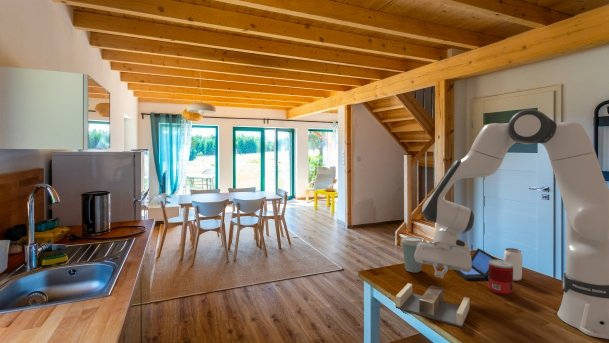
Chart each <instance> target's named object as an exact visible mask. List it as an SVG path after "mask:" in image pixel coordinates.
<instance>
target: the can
mask: <svg viewBox="0 0 609 343" xmlns="http://www.w3.org/2000/svg"><path fill="white" fill-rule="evenodd" d="M503 261H507V262H510V263H512V264H513V281H521V280H522V276H523V253H522V250H520V249H518V248H515V247H514V248H513V247H507V248H505V250H504V252H503Z"/></svg>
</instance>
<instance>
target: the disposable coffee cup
mask: <svg viewBox="0 0 609 343" xmlns="http://www.w3.org/2000/svg"><path fill="white" fill-rule="evenodd" d="M420 241H426V238H424V237H421V236H405V237H403V238H401V246H402V247H401V248H402V253H403V263H404V268H405V270H406V271H407V272H410V273H419V272H421V270H422V266H423V263H419V262H416V260H415V258H414V254H415V251H416V249H417V248H416V247H417V243H418V242H420Z"/></svg>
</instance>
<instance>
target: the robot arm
mask: <svg viewBox="0 0 609 343" xmlns="http://www.w3.org/2000/svg"><path fill="white" fill-rule="evenodd" d="M514 144H521V145H522V144H523V145H533V144H541V145H542V146H543V147H544V148H545V150H546V152H547V155H548V158H549V161H550V164H551V168H552V172H553V174H554V177H555V180H556V181H555V182H556V184H557V187H558V189H559V193H560V196H561V199H562V203H563V204H564V209H565V212H566V254H565V272H564V273H563V277H562V290H563V295H562V300H561V303H560V306H559V309H558V311H557V317H558V318H559V319H560V320H561V321H563V323H564V322H565V323H566V324H567V325H570V326H571V327H573V328H576V329H578V331H579V330H580V331H581V332H582V333H584V334H585V335H587V336H590V337H594V338H595V337H596V338H601V339H606V340H609V187H608V184H607V182H606V179H605V177H604V174H603V172H602V169H601V165H600V163H599V159H598V156H597V152H596V150H595V147H594V145H593V143H592V140H591V138H590V136H589V134H588V133H587V131H586V130H585V128H584V126H583V125H582V124H581V123H579V122H577V121H571V120H569V121H561V122H556V121H554V120H553V119H551V118H550V117H549V116H547V114H545V113H543V112H541V111H539V110H537V109H532V108H531V109H523V110H520V111H518V112H517V113H515V114H514V115H512V117H511V118H510V119H509V121H508V123H506V124H502V123H497V122H494V123H488V124H485V125H484V126H483V127H482V128H481V130H480V131H479V133H478V134H477V136H476V138H475V139H474V141H473V143H472V145H471V147H470V149H469V151H468V153H466V155H465V156H464V157H463V158H461V159H456V160H455V161H453V163H452V164H451V165H450V166H449V167H448V169H447V170H446V172H445V173H444V175H443V176H442V178H441V179H440V181H439V182H438V184H437V185H436V186H435V188H434V190H433V191H432V193H431V194H430V195H429V196H428V198H427V199H426V200H425V201H424V203H423V205H422V207H421V214H422V216H423V218H424V219H425V220H426V221H427V222H431V223H434V224H435V223H436V231H435V233H434V236H433V241H429V240H428V241H427V240H425V241H420V242H418V243H417V247H416V248H417V249H416V251H415V254H414V258H415V260H416V262H419V263H422V264H424V265H429V266H432V268H433V269H434V274H433V275H434V277H436V278H441V279H444V276H445V275H446V273H447V272H448V271H449V269H450V270H453V269H454V270H459V271H464V272H470V271H471V270H472V259H471V258H472V255H471V247H470V244H469V243H468V242H466V241H464V240H461V239H459V235H462V234H464V233H467V232H469V231H470V230H472V228H473V226H474V222H475V214H474V212H473V210H472V209H471V208H470V207H468V206H465V205H461V204H458V203H455V202H452V201H449V200H447V199H445V196H446V195H447V193H448V192H449V191H450V189H451V187H452V186H453V184H454V183H455V182H457V181H459V180H461V179H470V178H471V179H472V178H473V179H482V178H486V177H490V176H492V175H494V174H495V173H496V172H497V171H498V170H499V168H500V167H501V165H502V164H503V161H504V158H505V157H506V154H507V153H508V151H509V149H510V148H511V147H512V146H513V145H514ZM439 267H440V268H442V270H441V271H440V270H438V268H439ZM454 270H453V271H454Z"/></svg>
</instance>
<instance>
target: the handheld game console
mask: <svg viewBox="0 0 609 343" xmlns="http://www.w3.org/2000/svg"><path fill="white" fill-rule="evenodd" d="M471 259H472V270H471V271H470V272H464V271H459V270H454V269H452V270H453V271H455V273H456V274H458V275H459V276H461V277H462V279H464V280H465V281H488V275H489V261H490V260H498V258H497V257H495V256H494V255H491V254H490V253H488V252H487V251H485V250H483V249H481V248H476V250H475V252H474V253H473V255H471Z"/></svg>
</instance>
